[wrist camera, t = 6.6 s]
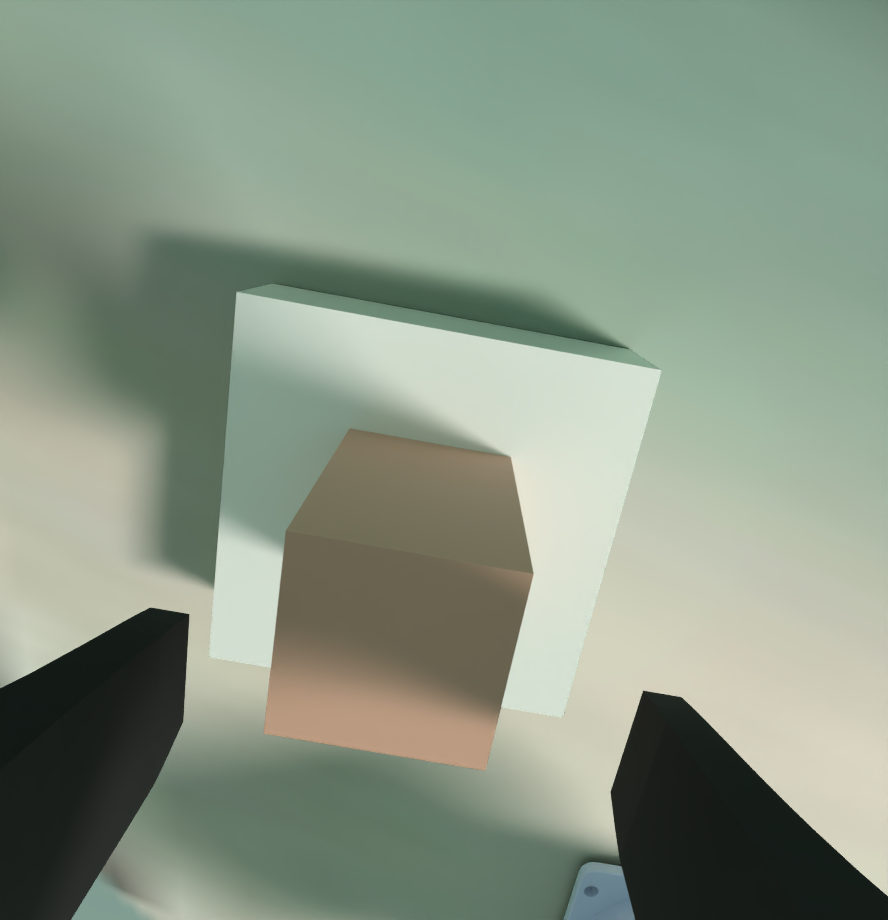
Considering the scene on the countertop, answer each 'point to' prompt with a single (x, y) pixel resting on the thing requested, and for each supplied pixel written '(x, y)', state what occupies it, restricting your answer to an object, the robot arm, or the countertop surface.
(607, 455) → the slab
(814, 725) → the countertop surface
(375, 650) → the block
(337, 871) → the countertop surface
